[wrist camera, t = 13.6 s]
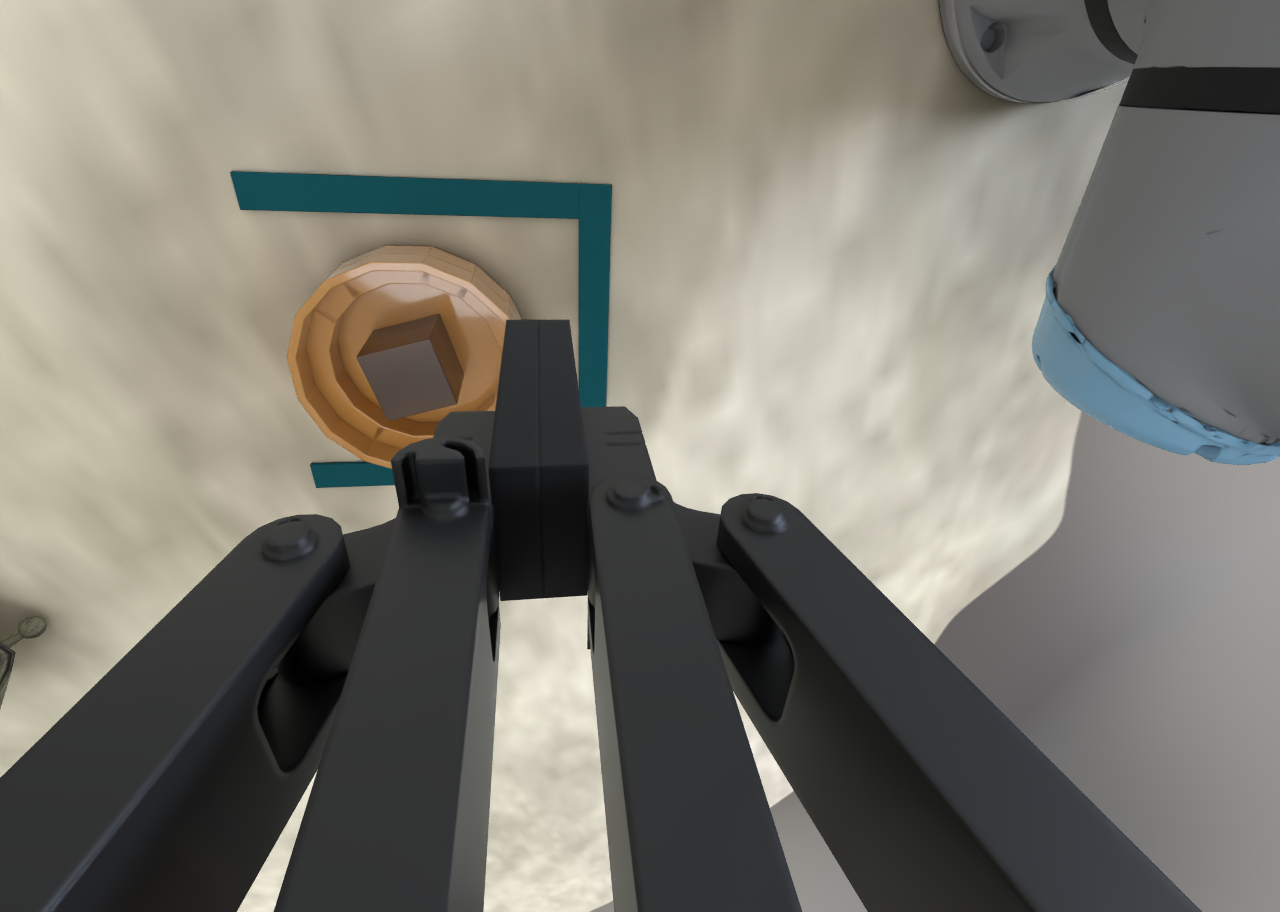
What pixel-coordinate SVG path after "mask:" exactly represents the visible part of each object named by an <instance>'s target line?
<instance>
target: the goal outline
mask: <svg viewBox="0 0 1280 912" xmlns="http://www.w3.org/2000/svg"><path fill="white" fill-rule="evenodd" d="M230 173H231V177H232V181H233V184H234V188H235V192H236V195H237V199H238V203H239V206H240V210H269V211H306V212H344V213H381V214H419V215H456V216H493V217H531V218H568V219H579V396H580V404H581V407H606V388H607V350H608V311H609V272H610V234H611V195H612V185H605V184H577V183H548V182H520V181H492V180H463V179H435V178H406V177H378V176H350V175H321V174H293V173H265V172H236V171H232V172H230ZM310 467H311V470H312V474H313V478H314V481H315V485H316V488H325V487H353V486H380V485H395V482H394V476H393V471H392V469H391V468H387V467H384V466H380V465H377V464H373V463H370V462H339V463H311V465H310Z"/></svg>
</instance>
